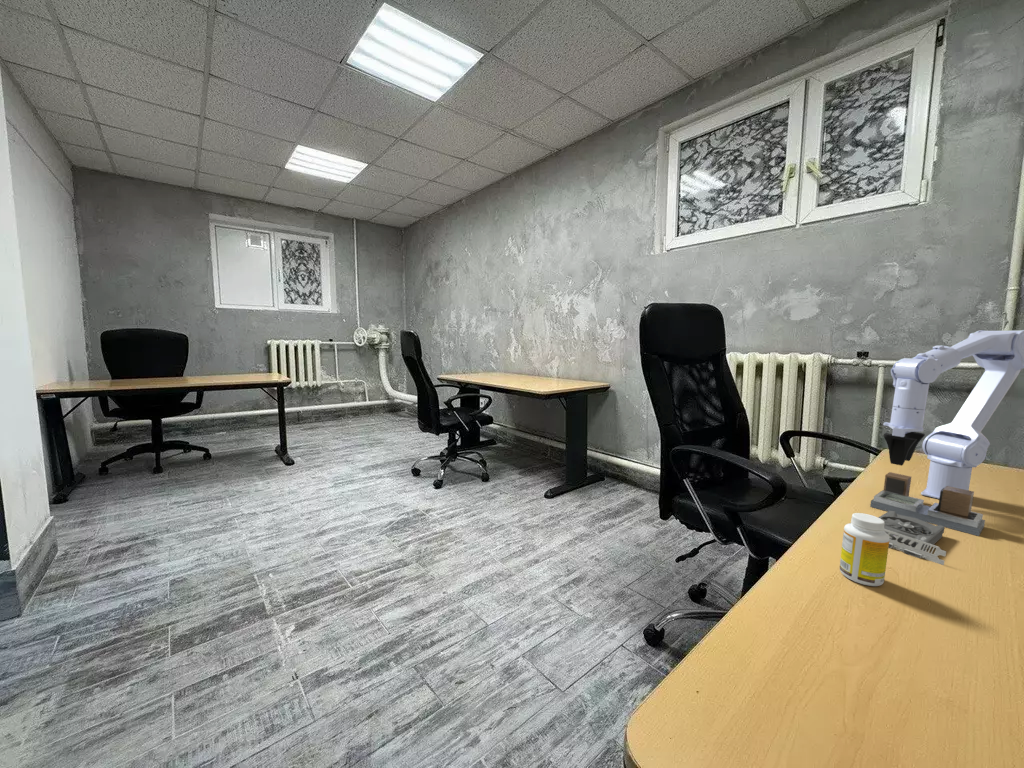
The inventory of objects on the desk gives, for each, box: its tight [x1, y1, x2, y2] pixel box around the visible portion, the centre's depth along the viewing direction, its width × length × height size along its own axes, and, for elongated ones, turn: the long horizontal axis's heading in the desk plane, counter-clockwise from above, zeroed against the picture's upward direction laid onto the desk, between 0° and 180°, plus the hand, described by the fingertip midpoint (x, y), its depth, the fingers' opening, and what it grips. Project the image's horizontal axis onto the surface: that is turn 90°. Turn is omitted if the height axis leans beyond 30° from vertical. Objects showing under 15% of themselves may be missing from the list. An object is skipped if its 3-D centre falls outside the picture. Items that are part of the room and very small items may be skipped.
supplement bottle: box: [839, 512, 889, 587], centre depth 66 cm, size 6×6×10 cm
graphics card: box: [878, 511, 947, 566], centre depth 80 cm, size 17×4×12 cm
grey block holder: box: [869, 486, 986, 537], centre depth 91 cm, size 8×17×8 cm, turn 36°
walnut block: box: [883, 471, 912, 497], centre depth 101 cm, size 4×4×6 cm
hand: (900, 462), depth 100 cm, fingers open, 7 cm apart
